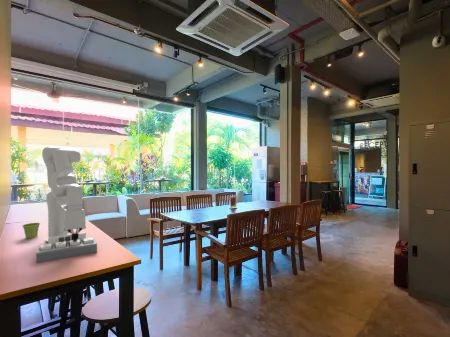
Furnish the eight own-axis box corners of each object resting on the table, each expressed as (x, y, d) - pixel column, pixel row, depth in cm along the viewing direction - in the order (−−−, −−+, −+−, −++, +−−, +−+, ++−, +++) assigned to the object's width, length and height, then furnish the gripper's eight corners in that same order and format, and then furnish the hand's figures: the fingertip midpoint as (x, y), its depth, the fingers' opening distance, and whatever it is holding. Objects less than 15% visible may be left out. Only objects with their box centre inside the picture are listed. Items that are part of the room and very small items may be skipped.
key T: (84, 246, 138) (83, 240, 138) (83, 243, 142) (83, 238, 142) (93, 244, 141) (93, 239, 141) (92, 242, 145) (92, 237, 145)
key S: (55, 250, 131) (55, 244, 131) (55, 248, 135) (55, 242, 135) (66, 249, 134) (66, 243, 134) (65, 246, 137) (65, 241, 137)
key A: (40, 253, 127) (40, 247, 127) (40, 250, 131) (40, 244, 131) (51, 251, 130) (51, 245, 130) (51, 248, 134) (51, 243, 134)
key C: (70, 248, 135) (70, 242, 135) (69, 245, 138) (69, 240, 138) (80, 246, 137) (80, 241, 137) (79, 244, 141) (79, 239, 141)
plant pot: (28, 240, 160) (28, 226, 160) (18, 238, 163) (18, 225, 163) (43, 236, 169) (43, 223, 168) (33, 234, 172) (33, 222, 171)
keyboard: (36, 262, 124) (36, 245, 123) (38, 255, 134) (37, 238, 133) (97, 252, 139) (96, 236, 138) (94, 246, 149) (94, 231, 148)
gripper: (58, 210, 130) (58, 244, 130) (90, 207, 138) (91, 239, 139) (58, 208, 136) (58, 241, 137) (89, 205, 145) (89, 236, 145)
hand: (75, 240), depth 138 cm, fingers closed
